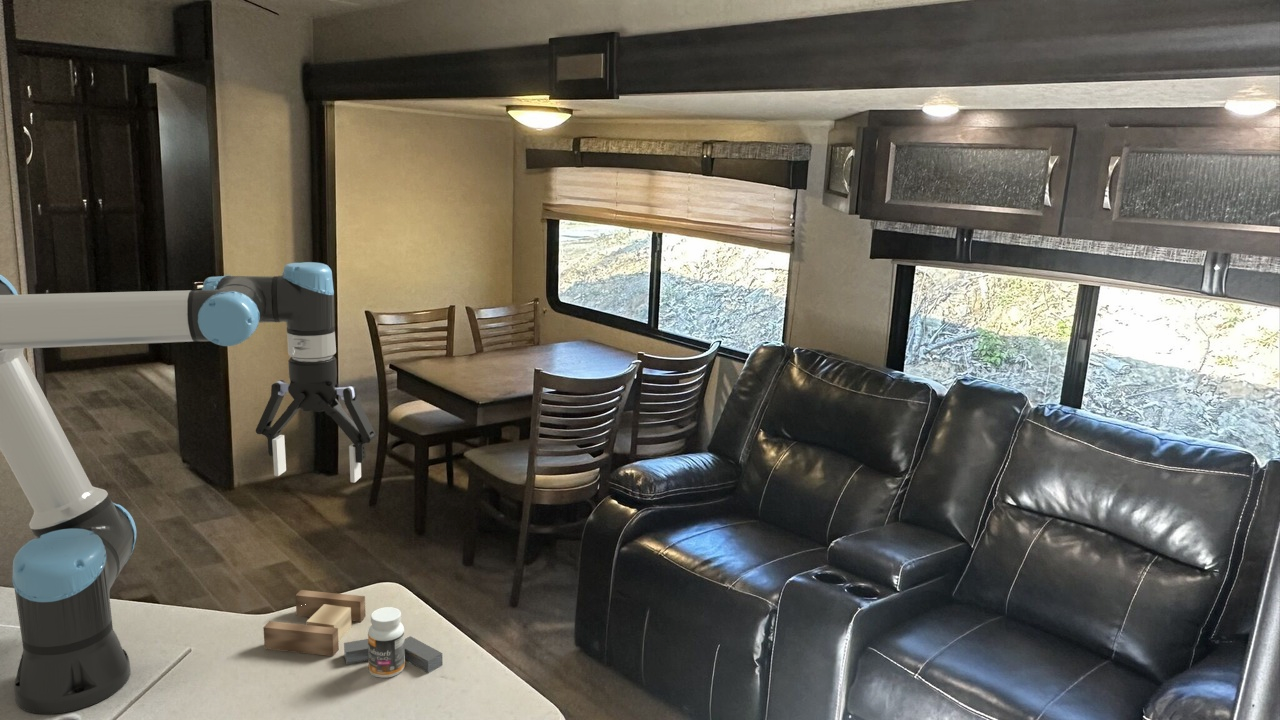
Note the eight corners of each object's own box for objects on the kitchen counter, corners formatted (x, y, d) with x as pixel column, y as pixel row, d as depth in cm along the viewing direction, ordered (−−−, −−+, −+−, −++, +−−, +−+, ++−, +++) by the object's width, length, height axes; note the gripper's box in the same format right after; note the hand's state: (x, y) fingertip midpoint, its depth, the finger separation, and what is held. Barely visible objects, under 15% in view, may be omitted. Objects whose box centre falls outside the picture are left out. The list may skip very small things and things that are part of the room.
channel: (264, 648, 151) (263, 627, 150) (301, 610, 164) (300, 589, 163) (333, 656, 150) (332, 634, 149) (365, 616, 163) (364, 596, 162)
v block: (337, 663, 148) (337, 651, 148) (354, 641, 154) (354, 630, 154) (437, 674, 146) (437, 661, 146) (450, 651, 153) (450, 640, 152)
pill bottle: (362, 676, 145) (360, 620, 143) (379, 657, 150) (377, 602, 148) (395, 681, 144) (393, 625, 141) (411, 662, 149) (410, 607, 147)
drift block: (307, 642, 154) (306, 621, 153) (325, 624, 160) (324, 604, 159) (334, 646, 153) (333, 625, 152) (351, 628, 159) (350, 607, 158)
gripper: (228, 356, 148) (237, 478, 153) (375, 366, 146) (379, 490, 151) (253, 346, 155) (260, 463, 160) (393, 356, 153) (396, 474, 158)
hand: (317, 476), depth 156 cm, fingers open, 13 cm apart
